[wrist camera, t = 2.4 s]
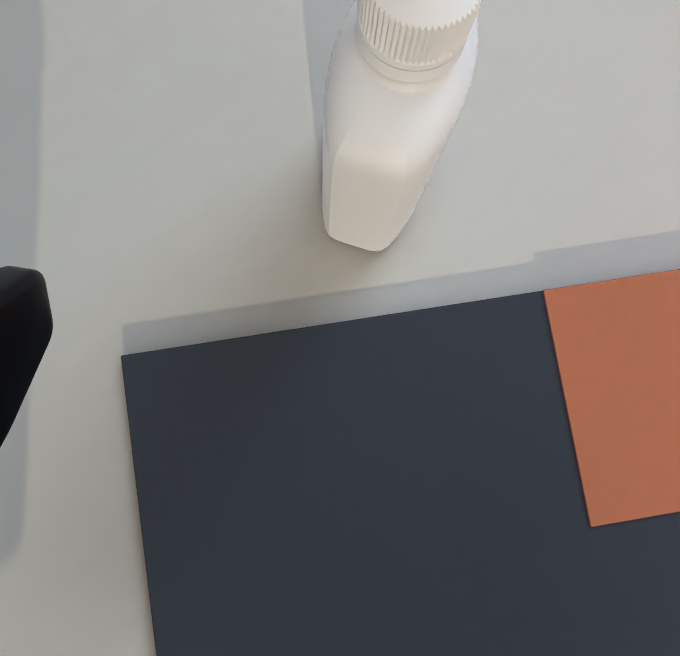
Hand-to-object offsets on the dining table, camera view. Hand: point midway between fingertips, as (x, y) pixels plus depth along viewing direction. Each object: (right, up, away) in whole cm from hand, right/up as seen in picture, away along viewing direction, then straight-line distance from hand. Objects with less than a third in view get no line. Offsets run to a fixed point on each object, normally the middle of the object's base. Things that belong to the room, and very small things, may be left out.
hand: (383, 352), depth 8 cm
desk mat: (+5, -9, +12) cm, 16 cm away
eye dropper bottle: (+1, +6, +14) cm, 15 cm away
